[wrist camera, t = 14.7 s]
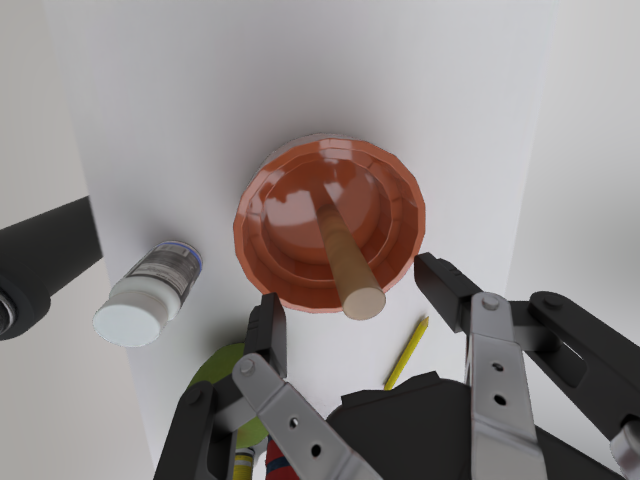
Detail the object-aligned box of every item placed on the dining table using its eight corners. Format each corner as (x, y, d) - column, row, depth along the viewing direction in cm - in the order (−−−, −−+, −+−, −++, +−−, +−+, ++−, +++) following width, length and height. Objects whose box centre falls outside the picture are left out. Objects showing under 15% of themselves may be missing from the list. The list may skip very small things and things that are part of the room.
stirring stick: (318, 227, 22) (346, 325, 12) (313, 207, 21) (339, 293, 11) (340, 222, 22) (387, 314, 12) (336, 201, 21) (384, 282, 11)
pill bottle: (179, 287, 24) (132, 360, 17) (139, 255, 22) (66, 324, 15) (214, 264, 24) (181, 331, 16) (177, 230, 21) (119, 289, 14)
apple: (252, 308, 27) (236, 400, 18) (301, 353, 32) (307, 443, 23) (181, 348, 28) (133, 451, 20) (238, 386, 33) (220, 482, 24)
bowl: (274, 286, 26) (271, 330, 21) (221, 156, 19) (195, 171, 14) (397, 254, 26) (425, 289, 21) (387, 114, 19) (426, 112, 14)
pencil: (388, 387, 38) (390, 393, 37) (382, 387, 38) (384, 393, 37) (429, 313, 31) (434, 319, 30) (423, 313, 31) (427, 318, 30)
